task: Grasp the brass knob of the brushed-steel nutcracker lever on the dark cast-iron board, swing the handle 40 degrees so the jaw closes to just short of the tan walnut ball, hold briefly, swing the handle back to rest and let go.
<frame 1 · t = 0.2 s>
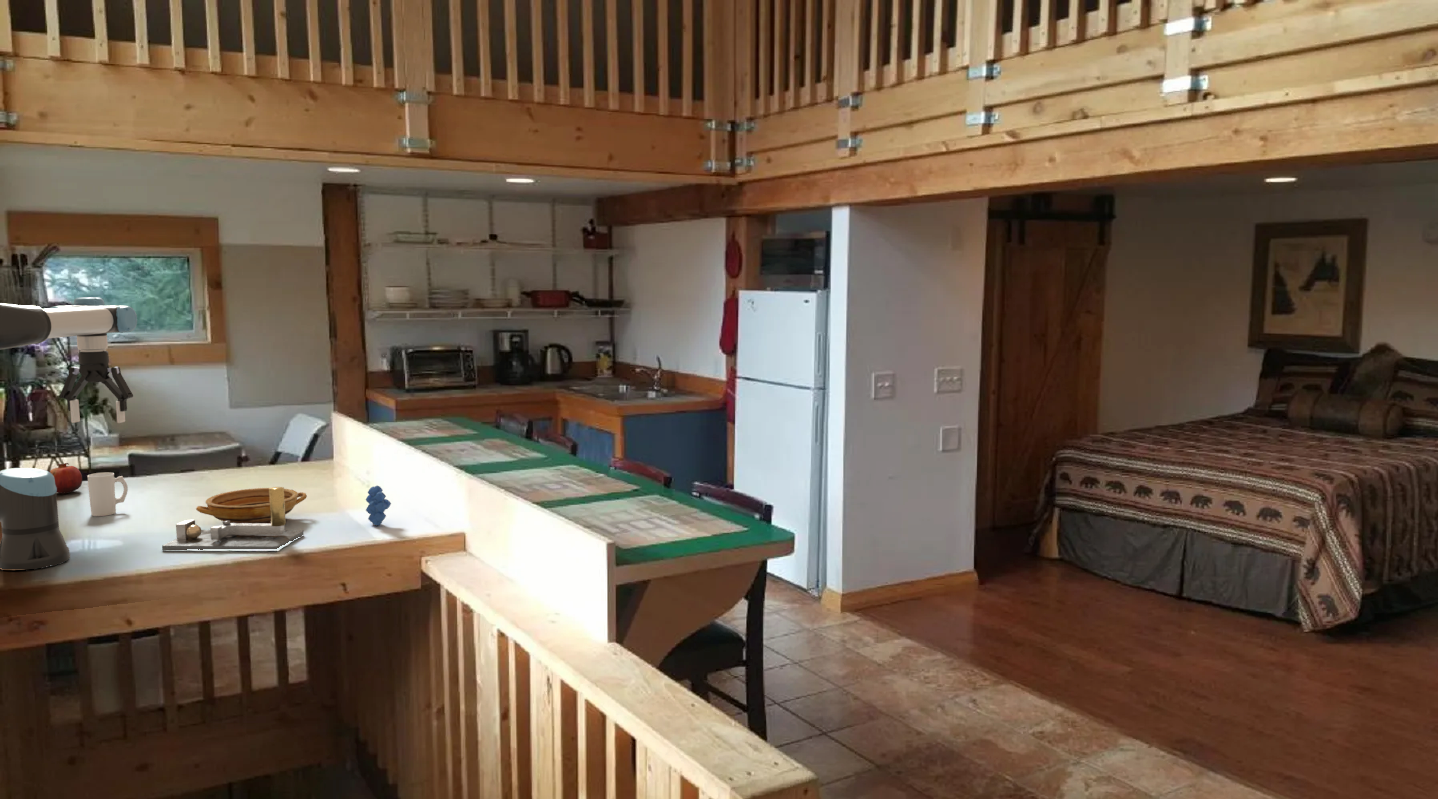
hand: (98, 422, 292), 28 cm above the counter, fingers open, 13 cm apart
grapes: (380, 526, 284), on the counter
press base: (235, 543, 265), on the counter
mug: (110, 513, 297), on the counter
lever: (249, 513, 263), point 8 cm above the counter, hinge at 0.0°
fruit: (65, 494, 323), on the counter
ceramic bowl: (254, 524, 286), on the counter
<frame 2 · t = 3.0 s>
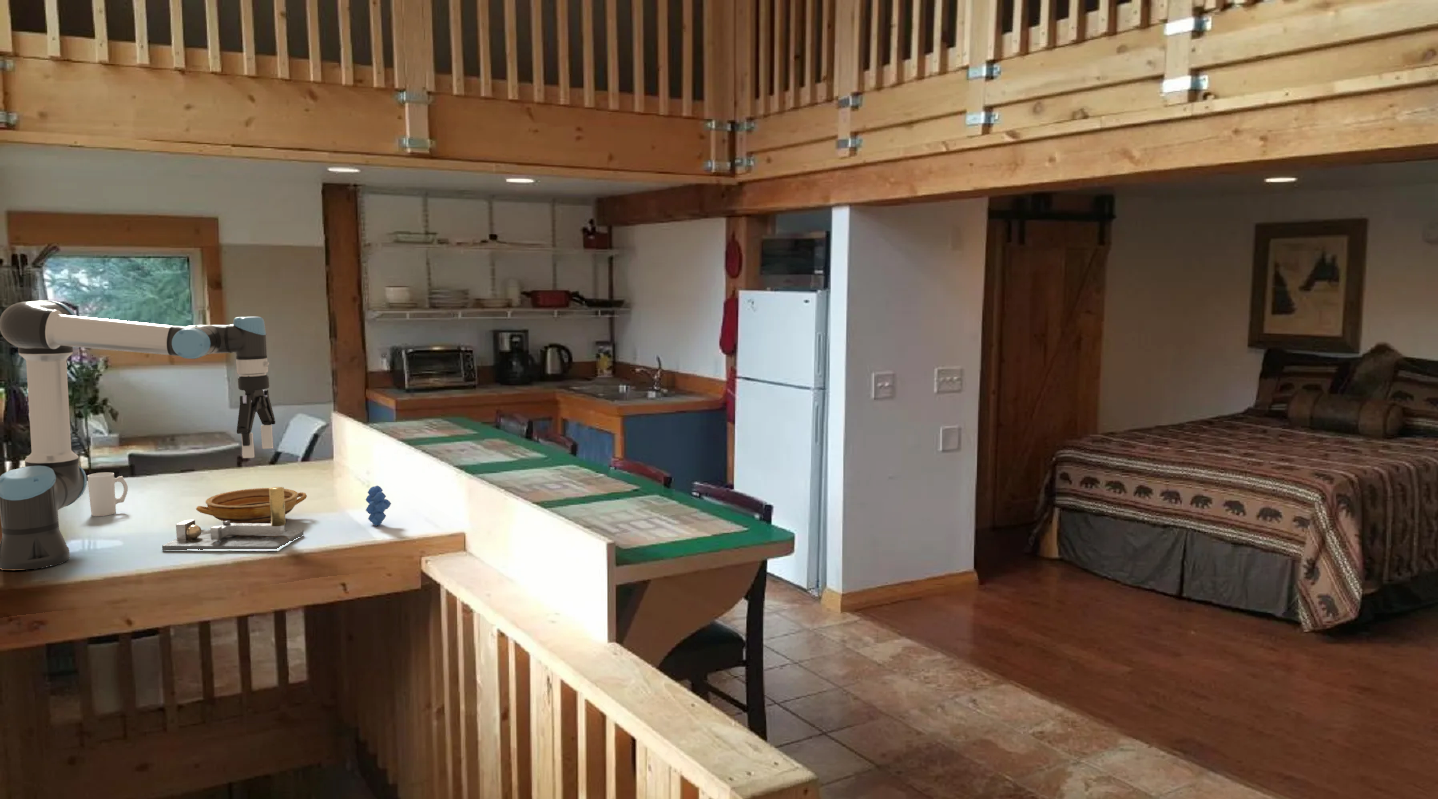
hand: (258, 453, 266), 24 cm above the counter, fingers open, 13 cm apart
nothing on the counter moved.
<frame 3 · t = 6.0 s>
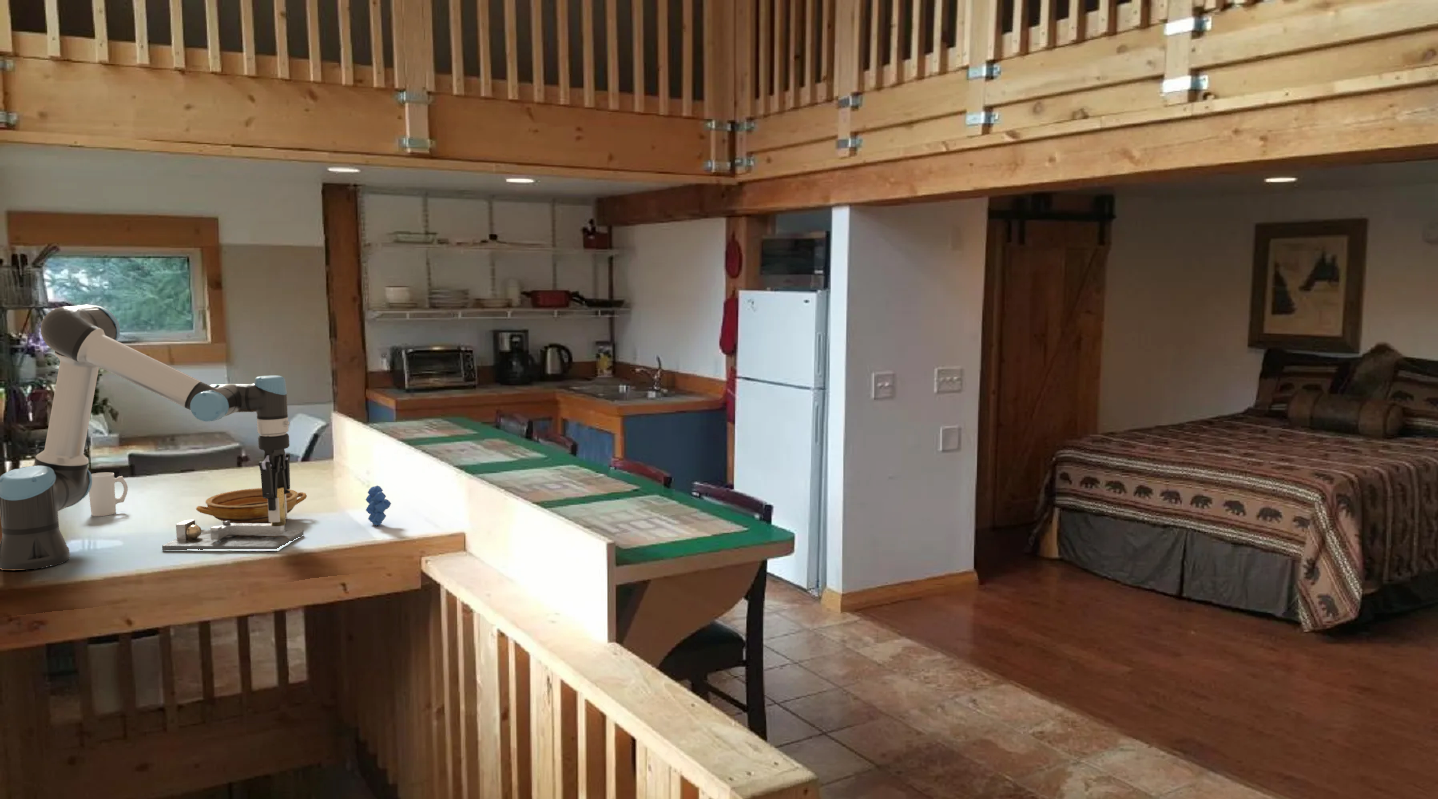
hand: (278, 519, 266), 6 cm above the counter, fingers closed on lever, 4 cm apart
lever: (249, 513, 263), point 8 cm above the counter, hinge at 0.0°, touching gripper
everything else where it was.
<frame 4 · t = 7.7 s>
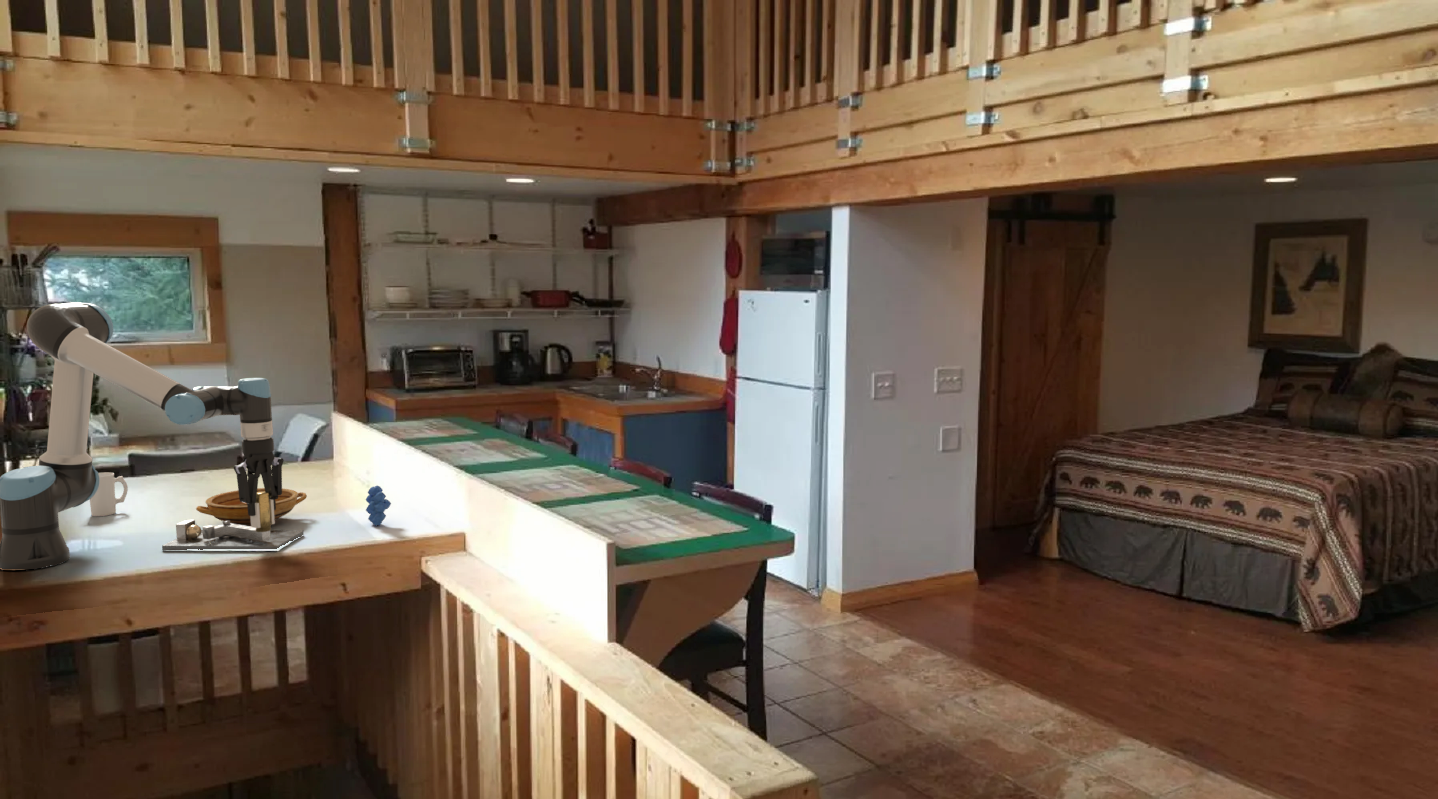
hand: (262, 525, 260), 6 cm above the counter, fingers closed on lever, 4 cm apart
lever: (237, 515, 260), point 8 cm above the counter, hinge at -24.8°, touching gripper
everything else where it was.
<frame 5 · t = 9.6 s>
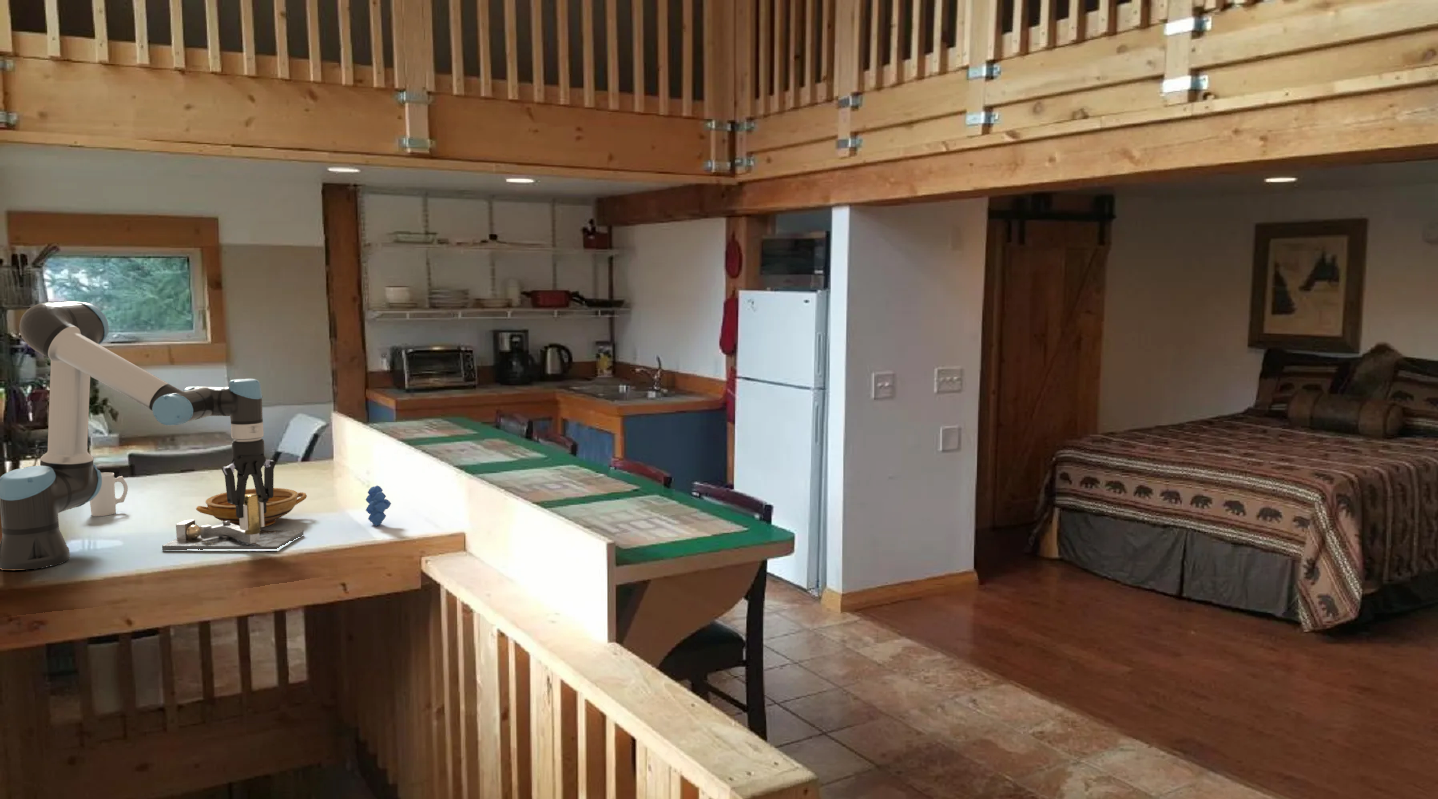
hand: (252, 527, 257), 6 cm above the counter, fingers closed on lever, 4 cm apart
lever: (230, 516, 259), point 8 cm above the counter, hinge at -37.2°, touching gripper
everything else where it was.
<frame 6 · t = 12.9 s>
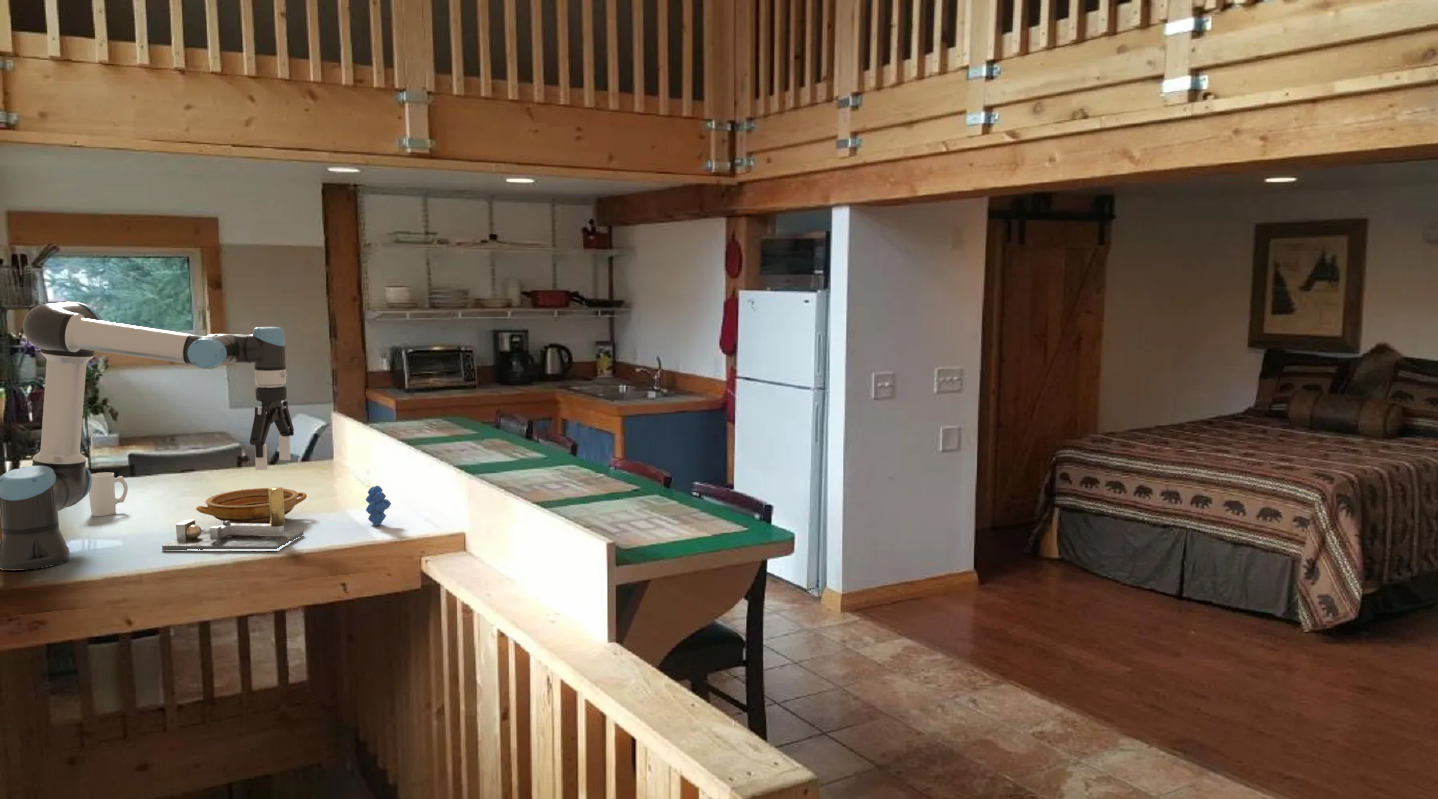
hand: (273, 464, 264), 21 cm above the counter, fingers open, 13 cm apart
lever: (248, 513, 263), point 8 cm above the counter, hinge at -1.6°
everything else where it was.
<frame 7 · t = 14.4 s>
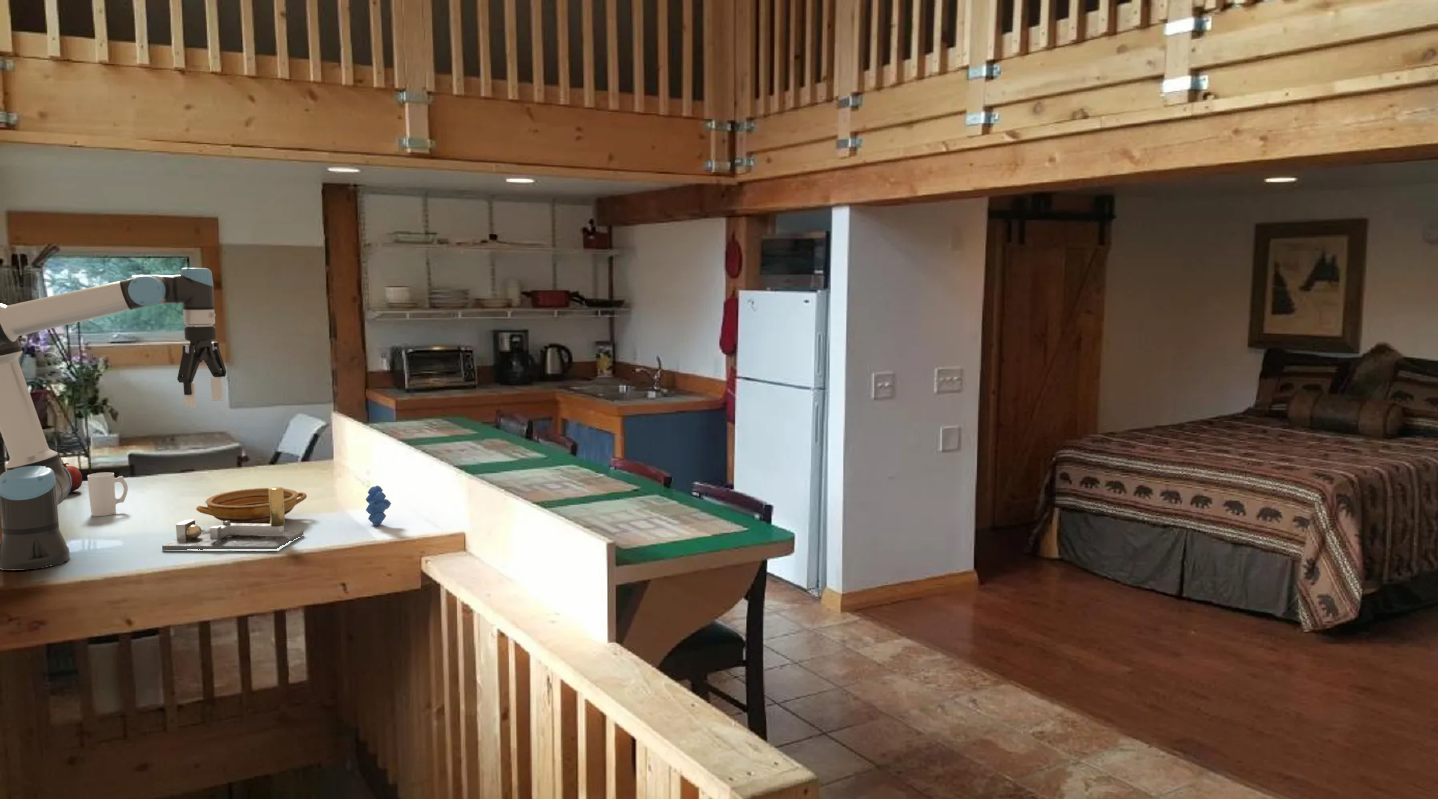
hand: (204, 403, 269), 37 cm above the counter, fingers open, 13 cm apart
nothing on the counter moved.
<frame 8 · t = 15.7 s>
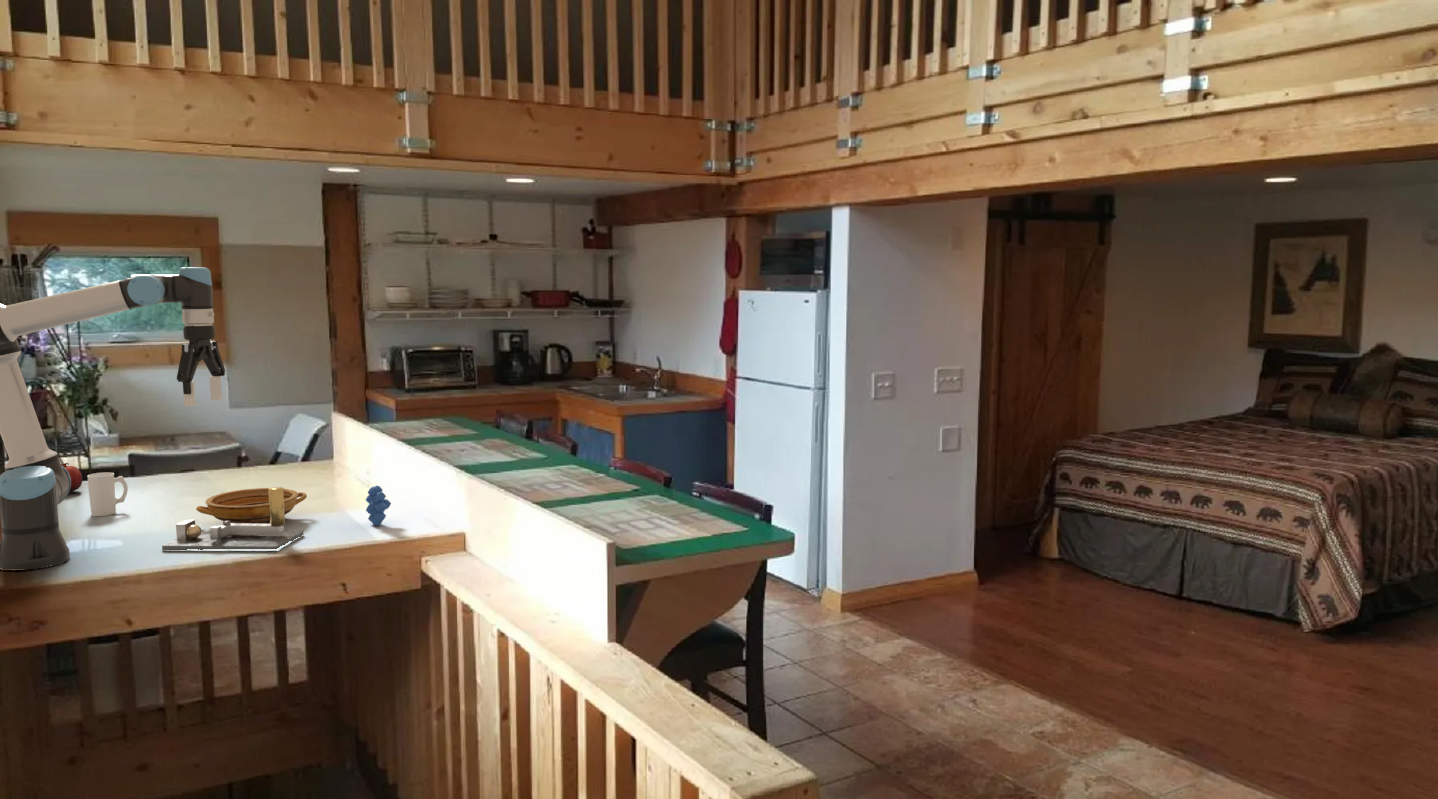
hand: (203, 403, 269), 37 cm above the counter, fingers open, 13 cm apart
nothing on the counter moved.
at the end: lever at -2° (first picture: +0°); the gripper is holding nothing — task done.
